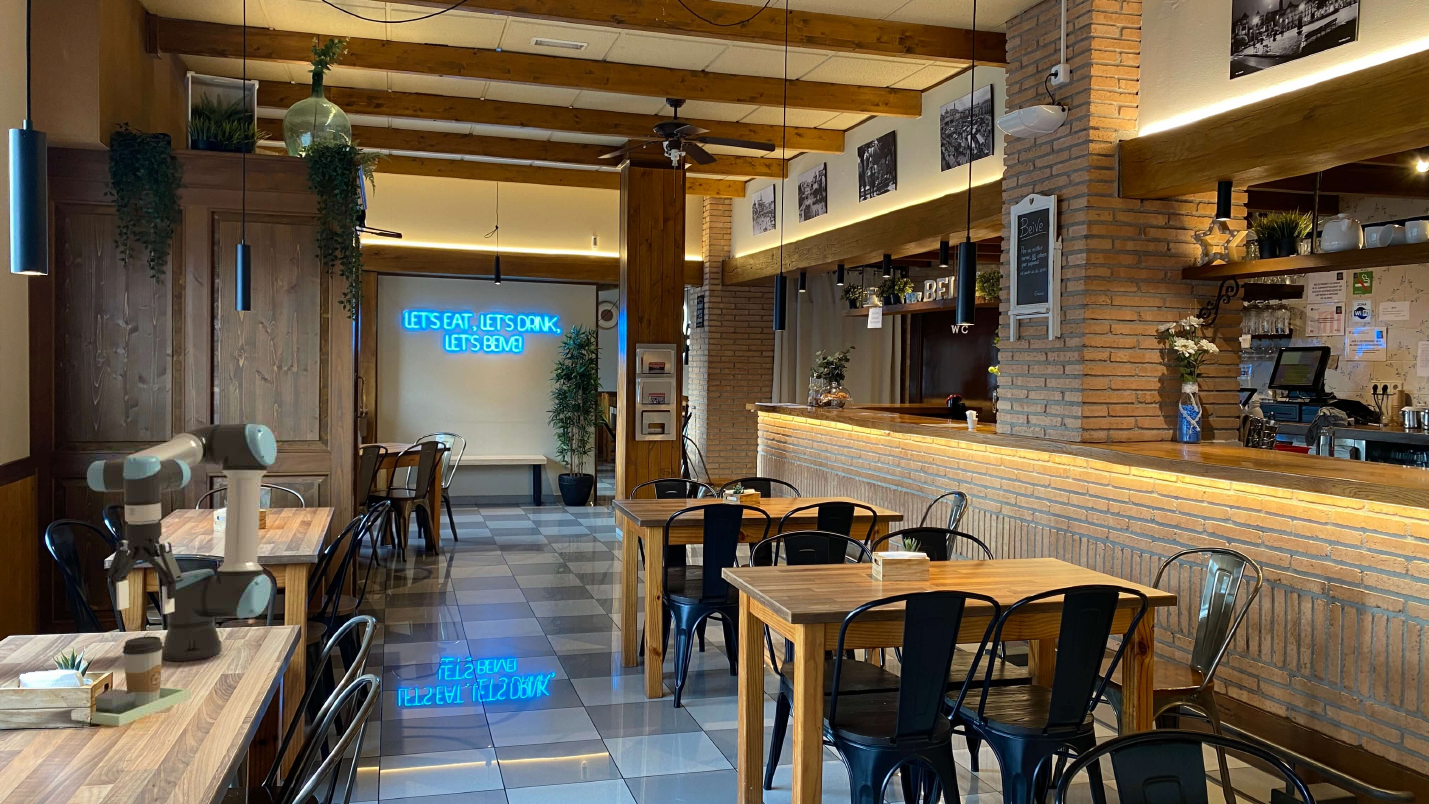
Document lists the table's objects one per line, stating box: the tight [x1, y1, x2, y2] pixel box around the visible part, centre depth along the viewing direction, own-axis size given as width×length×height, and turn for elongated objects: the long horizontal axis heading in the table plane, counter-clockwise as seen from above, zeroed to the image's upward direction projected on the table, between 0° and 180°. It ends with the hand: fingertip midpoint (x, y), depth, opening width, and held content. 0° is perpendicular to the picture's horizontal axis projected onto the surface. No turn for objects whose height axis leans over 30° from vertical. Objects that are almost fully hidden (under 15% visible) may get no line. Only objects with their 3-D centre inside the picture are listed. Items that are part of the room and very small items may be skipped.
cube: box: [95, 688, 135, 715], centre depth 231 cm, size 6×6×5 cm
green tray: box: [90, 685, 191, 728], centre depth 236 cm, size 20×14×3 cm
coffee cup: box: [122, 635, 164, 707], centre depth 240 cm, size 8×8×15 cm
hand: (145, 610), depth 241 cm, fingers open, 13 cm apart
